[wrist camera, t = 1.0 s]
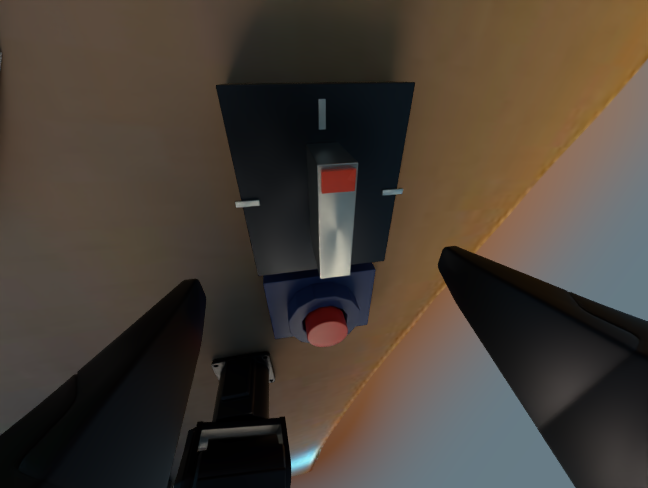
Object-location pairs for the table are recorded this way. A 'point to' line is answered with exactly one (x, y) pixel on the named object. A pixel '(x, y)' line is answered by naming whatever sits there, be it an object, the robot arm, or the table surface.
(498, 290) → the robot arm
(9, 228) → the table surface
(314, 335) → the red button
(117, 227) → the table surface
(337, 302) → the button box
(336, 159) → the grey post red patch
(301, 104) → the dial panel
